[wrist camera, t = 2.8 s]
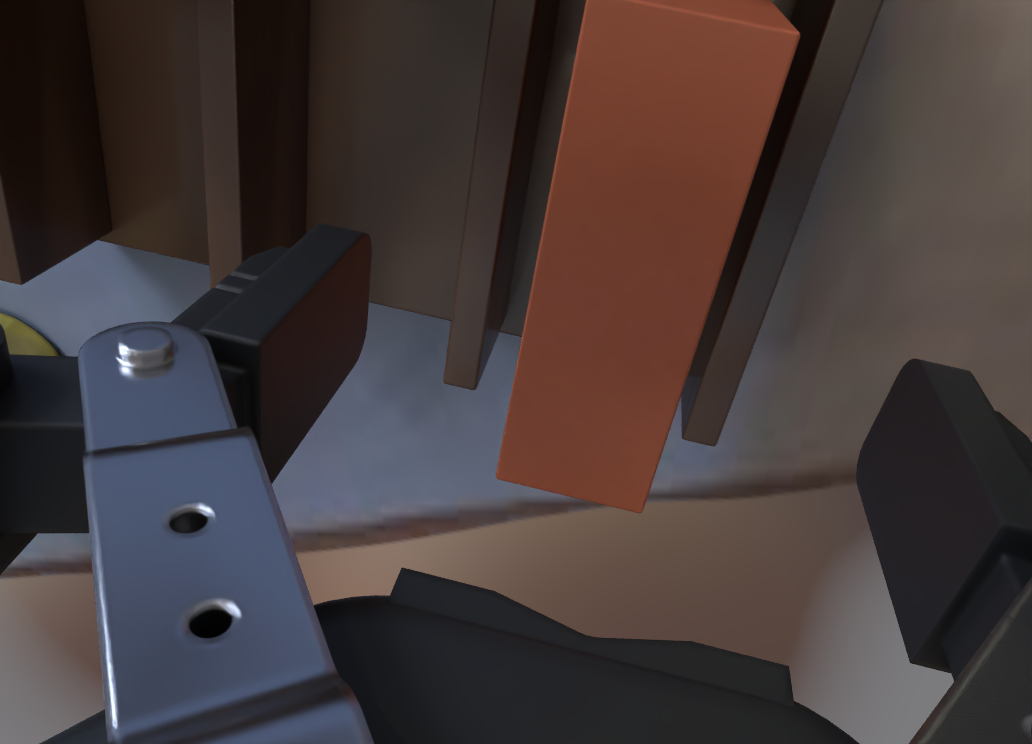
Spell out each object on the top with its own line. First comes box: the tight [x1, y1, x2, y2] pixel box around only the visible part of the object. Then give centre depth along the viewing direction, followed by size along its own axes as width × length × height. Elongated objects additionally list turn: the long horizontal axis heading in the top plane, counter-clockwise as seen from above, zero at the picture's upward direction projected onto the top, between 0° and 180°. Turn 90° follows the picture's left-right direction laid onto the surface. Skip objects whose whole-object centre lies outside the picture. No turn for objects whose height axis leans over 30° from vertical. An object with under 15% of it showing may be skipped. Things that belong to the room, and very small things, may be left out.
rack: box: [0, 0, 884, 446], centre depth 20 cm, size 22×15×9 cm
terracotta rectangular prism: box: [496, 0, 800, 513], centre depth 18 cm, size 3×9×11 cm, turn 171°
